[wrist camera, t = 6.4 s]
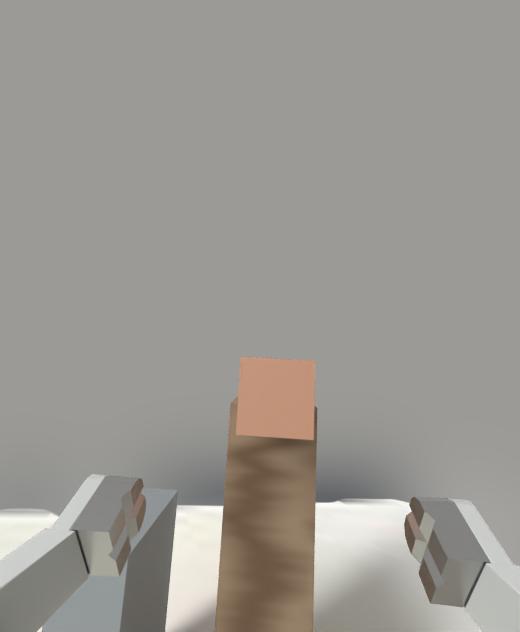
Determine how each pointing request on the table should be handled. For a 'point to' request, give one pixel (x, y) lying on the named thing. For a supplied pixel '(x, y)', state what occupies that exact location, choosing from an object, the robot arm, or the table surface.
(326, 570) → the table surface
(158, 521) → the blue-grey block
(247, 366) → the bar
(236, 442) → the pillar
